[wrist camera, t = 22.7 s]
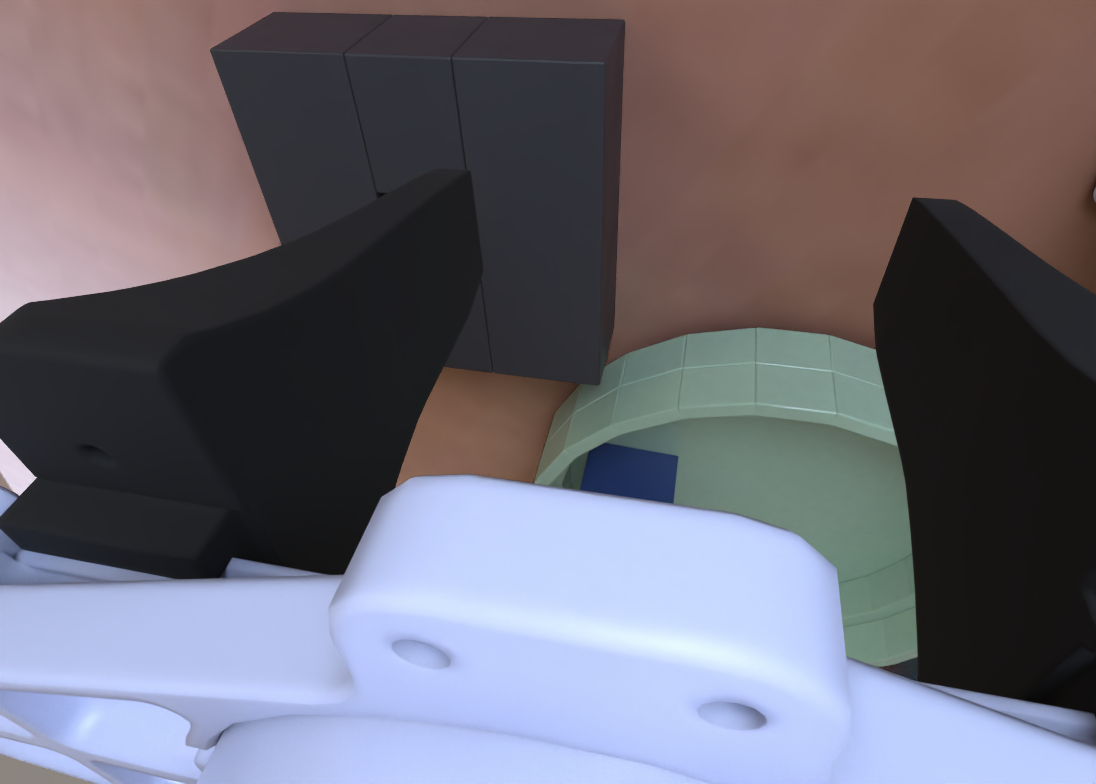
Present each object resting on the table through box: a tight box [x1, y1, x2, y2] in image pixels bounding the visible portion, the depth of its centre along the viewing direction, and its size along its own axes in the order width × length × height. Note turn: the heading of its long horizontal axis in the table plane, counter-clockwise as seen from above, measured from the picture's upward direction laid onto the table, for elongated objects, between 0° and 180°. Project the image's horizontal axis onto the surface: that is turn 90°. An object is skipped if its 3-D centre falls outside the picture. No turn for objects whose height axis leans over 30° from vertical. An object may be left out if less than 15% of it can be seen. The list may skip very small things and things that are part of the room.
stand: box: [210, 12, 625, 386], centre depth 22 cm, size 11×11×4 cm
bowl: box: [532, 327, 918, 667], centre depth 30 cm, size 19×19×4 cm
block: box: [580, 443, 679, 504], centre depth 30 cm, size 4×4×4 cm
